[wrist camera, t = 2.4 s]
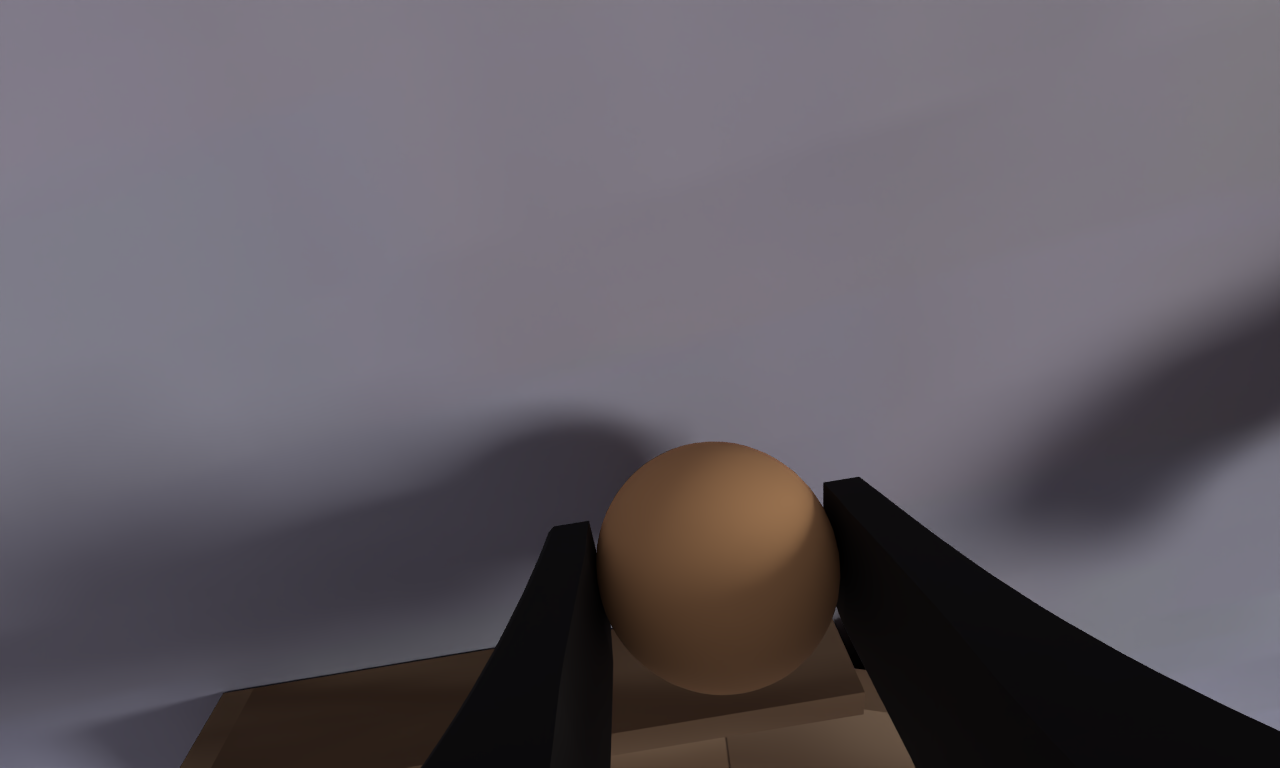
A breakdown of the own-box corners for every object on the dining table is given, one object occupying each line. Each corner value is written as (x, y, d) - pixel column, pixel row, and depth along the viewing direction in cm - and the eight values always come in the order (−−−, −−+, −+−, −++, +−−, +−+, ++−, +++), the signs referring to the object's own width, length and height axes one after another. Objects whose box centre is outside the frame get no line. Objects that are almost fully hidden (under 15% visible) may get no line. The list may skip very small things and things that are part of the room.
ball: (797, 545, 13) (877, 728, 9) (612, 576, 13) (622, 770, 9) (794, 382, 11) (893, 534, 7) (576, 418, 11) (570, 586, 7)
